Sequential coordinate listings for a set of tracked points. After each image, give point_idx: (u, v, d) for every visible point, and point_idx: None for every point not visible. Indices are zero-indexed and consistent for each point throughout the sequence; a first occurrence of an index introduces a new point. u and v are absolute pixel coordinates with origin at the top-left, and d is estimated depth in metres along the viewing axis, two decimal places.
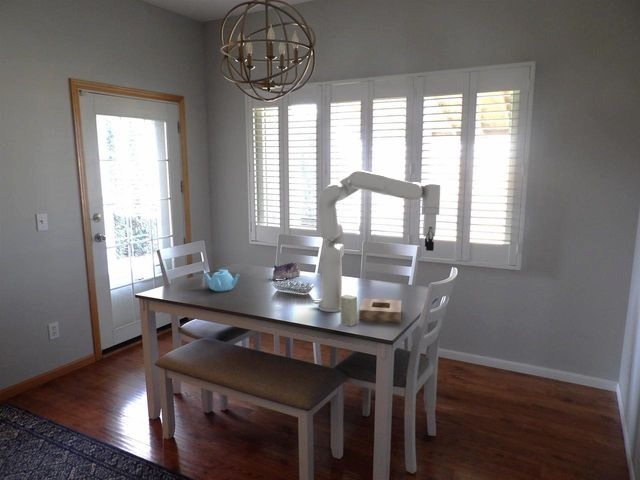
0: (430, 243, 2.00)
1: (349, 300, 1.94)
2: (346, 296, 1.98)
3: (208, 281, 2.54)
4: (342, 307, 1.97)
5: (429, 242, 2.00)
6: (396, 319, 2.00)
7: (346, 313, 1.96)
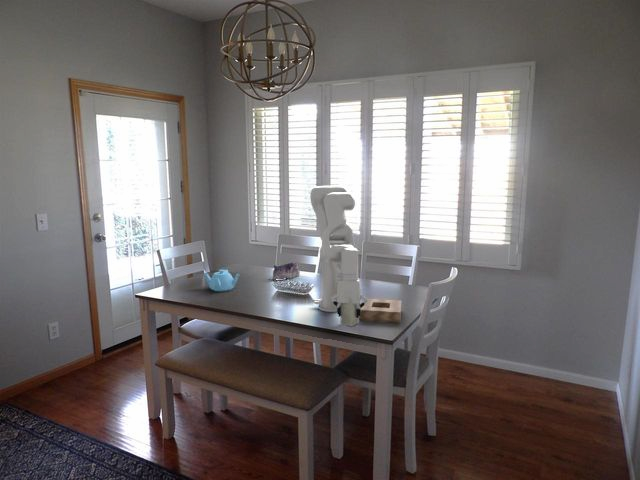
0: (360, 309, 1.97)
1: (349, 300, 1.94)
2: None
3: (208, 281, 2.54)
4: (342, 307, 1.97)
5: (360, 309, 1.96)
6: (396, 319, 2.00)
7: (346, 313, 1.96)
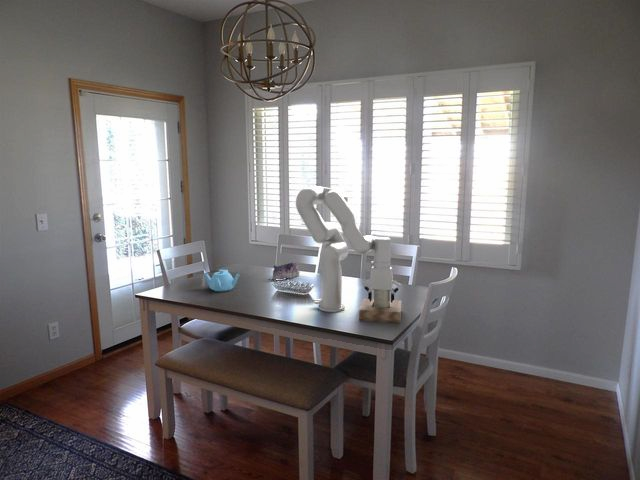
0: None
1: (383, 291, 2.05)
2: None
3: (208, 281, 2.54)
4: (375, 297, 2.08)
5: None
6: (396, 319, 2.00)
7: (379, 304, 2.07)
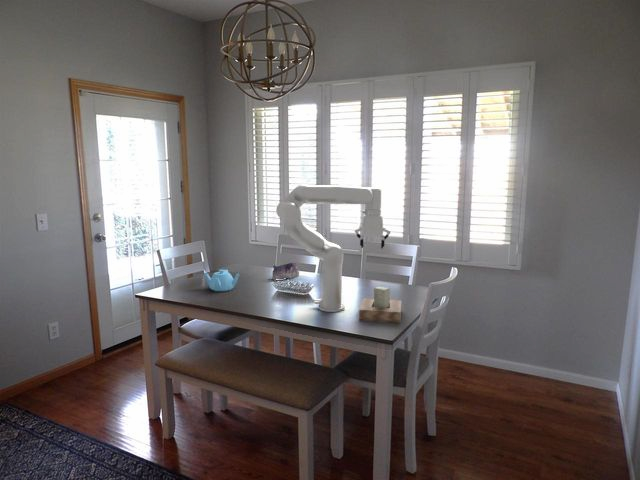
0: None
1: (383, 291, 2.05)
2: (379, 287, 2.09)
3: (208, 281, 2.54)
4: (375, 297, 2.08)
5: (384, 240, 2.22)
6: (396, 319, 2.00)
7: (379, 304, 2.07)
